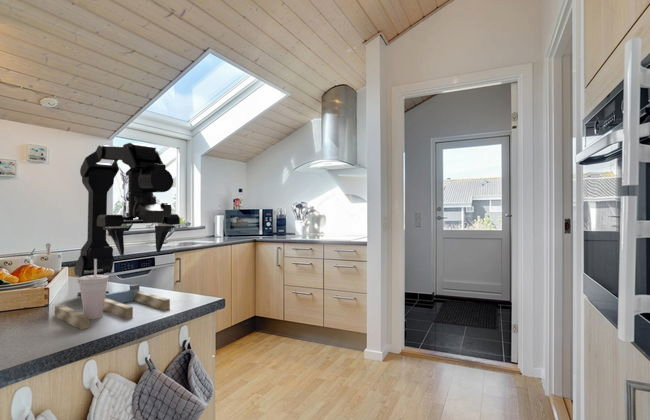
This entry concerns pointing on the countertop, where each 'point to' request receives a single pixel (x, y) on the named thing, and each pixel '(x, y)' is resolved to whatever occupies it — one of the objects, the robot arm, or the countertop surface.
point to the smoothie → (93, 293)
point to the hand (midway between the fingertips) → (140, 253)
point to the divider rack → (111, 309)
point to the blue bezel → (123, 294)
